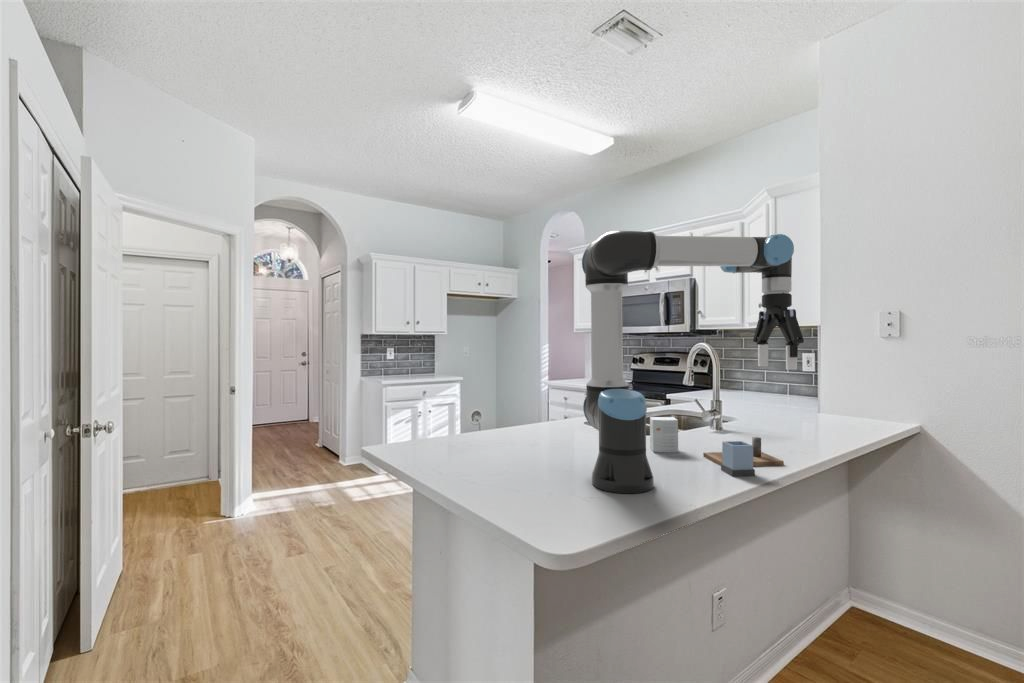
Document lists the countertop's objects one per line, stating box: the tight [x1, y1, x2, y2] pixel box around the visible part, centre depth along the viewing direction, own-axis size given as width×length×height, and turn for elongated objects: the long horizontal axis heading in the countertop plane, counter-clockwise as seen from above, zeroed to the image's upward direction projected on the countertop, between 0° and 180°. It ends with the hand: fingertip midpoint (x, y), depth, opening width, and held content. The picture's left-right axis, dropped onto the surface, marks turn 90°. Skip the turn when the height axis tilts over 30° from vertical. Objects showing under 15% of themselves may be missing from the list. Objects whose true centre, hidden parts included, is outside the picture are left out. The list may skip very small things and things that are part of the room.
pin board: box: [702, 436, 785, 467], centre depth 146 cm, size 18×12×7 cm, turn 94°
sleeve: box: [720, 440, 756, 477], centre depth 134 cm, size 6×6×8 cm
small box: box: [649, 416, 679, 453], centre depth 160 cm, size 8×6×10 cm
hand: (776, 368), depth 141 cm, fingers open, 13 cm apart
